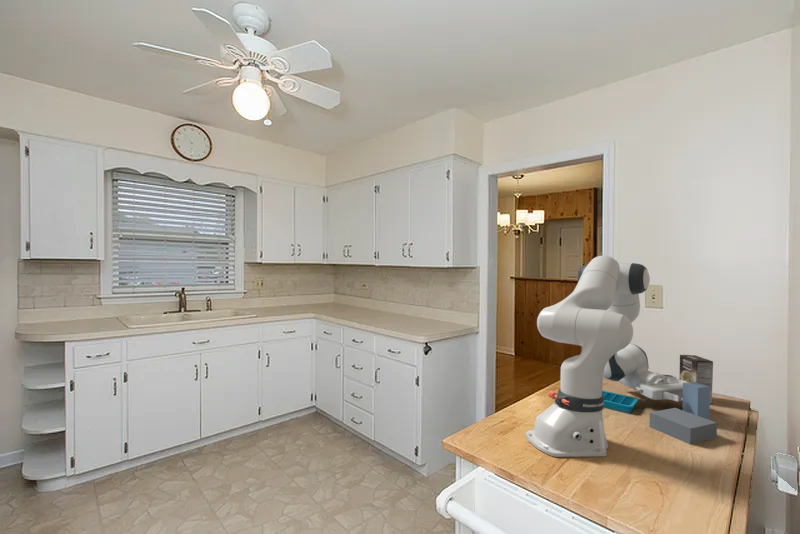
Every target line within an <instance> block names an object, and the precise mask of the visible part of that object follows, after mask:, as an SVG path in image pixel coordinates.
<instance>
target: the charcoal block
mask: <svg viewBox="0 0 800 534" xmlns="http://www.w3.org/2000/svg"><path fill="white" fill-rule="evenodd" d="M717 426H718V422H717V421H714V420H711V419H709V420H708V419H705V418H703V417H700V416H697V415H694V414H691V413H689V412H686V411H683V409H679V408H677V407H673V408H672V407H671V408H666V409H662V410H661V409H660V410H655V411H652V412H651V411H650V412H649V426H648V427H649V428H651V429H653V430H654V431H655V430H656V431H658V432H660V433H663V434H665V435H666V436H667V435H668V436H670V437H671V438H674V439H677V440H679V441H681V442H683V443H685V444H688V445H693V444H698V443H702V442H706V441H710V440H715V439H717V437H718V436H717V435H718V427H717ZM714 438H715V439H714Z"/></svg>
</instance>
